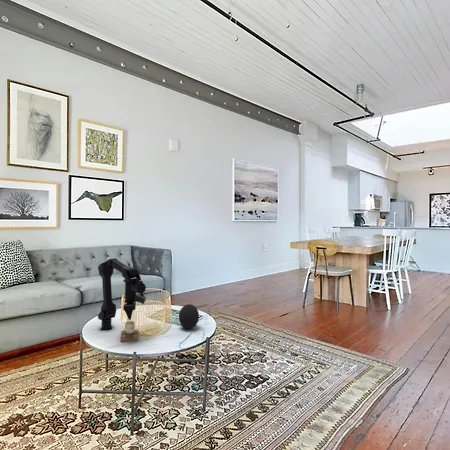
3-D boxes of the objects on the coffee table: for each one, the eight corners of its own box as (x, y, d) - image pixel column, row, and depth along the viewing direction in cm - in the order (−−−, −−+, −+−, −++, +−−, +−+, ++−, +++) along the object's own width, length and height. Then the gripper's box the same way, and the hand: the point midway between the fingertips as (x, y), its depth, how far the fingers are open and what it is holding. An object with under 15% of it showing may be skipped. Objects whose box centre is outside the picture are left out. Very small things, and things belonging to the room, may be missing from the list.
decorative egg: (200, 325, 206) (200, 302, 205) (196, 332, 193) (197, 307, 193) (181, 324, 207) (181, 301, 206) (176, 331, 195) (176, 306, 194)
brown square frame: (121, 335, 186) (121, 330, 186) (138, 334, 188) (138, 329, 188) (120, 342, 177) (120, 336, 177) (138, 341, 179) (138, 335, 179)
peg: (125, 337, 184) (125, 321, 184) (134, 336, 185) (134, 320, 185) (124, 340, 179) (124, 324, 179) (134, 339, 181) (134, 323, 180)
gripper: (145, 294, 174) (144, 322, 175) (145, 286, 192) (144, 312, 193) (123, 295, 172) (123, 324, 172) (125, 287, 190) (125, 313, 190)
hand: (130, 318), depth 182 cm, fingers open, 5 cm apart
